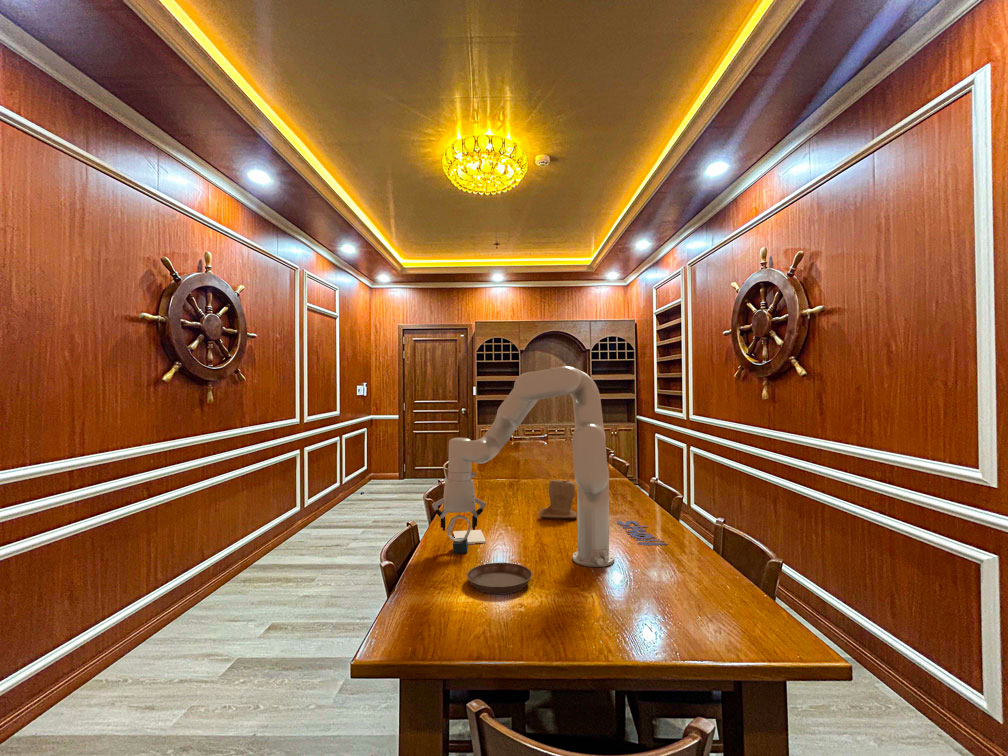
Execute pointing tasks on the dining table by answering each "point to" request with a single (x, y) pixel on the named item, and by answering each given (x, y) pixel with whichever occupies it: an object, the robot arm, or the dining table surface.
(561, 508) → the brown boot
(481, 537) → the pad
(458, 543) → the watch
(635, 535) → the signage
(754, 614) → the dining table surface
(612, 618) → the dining table surface
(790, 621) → the dining table surface
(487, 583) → the plant saucer
